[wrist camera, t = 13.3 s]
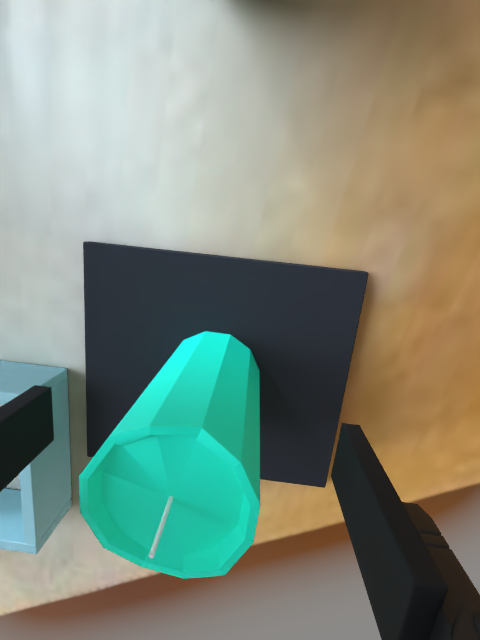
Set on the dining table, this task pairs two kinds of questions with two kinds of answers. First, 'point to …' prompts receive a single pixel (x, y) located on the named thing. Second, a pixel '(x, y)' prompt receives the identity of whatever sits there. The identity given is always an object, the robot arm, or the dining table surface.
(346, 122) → the dining table surface
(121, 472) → the candle
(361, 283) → the mat
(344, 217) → the dining table surface
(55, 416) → the tub
